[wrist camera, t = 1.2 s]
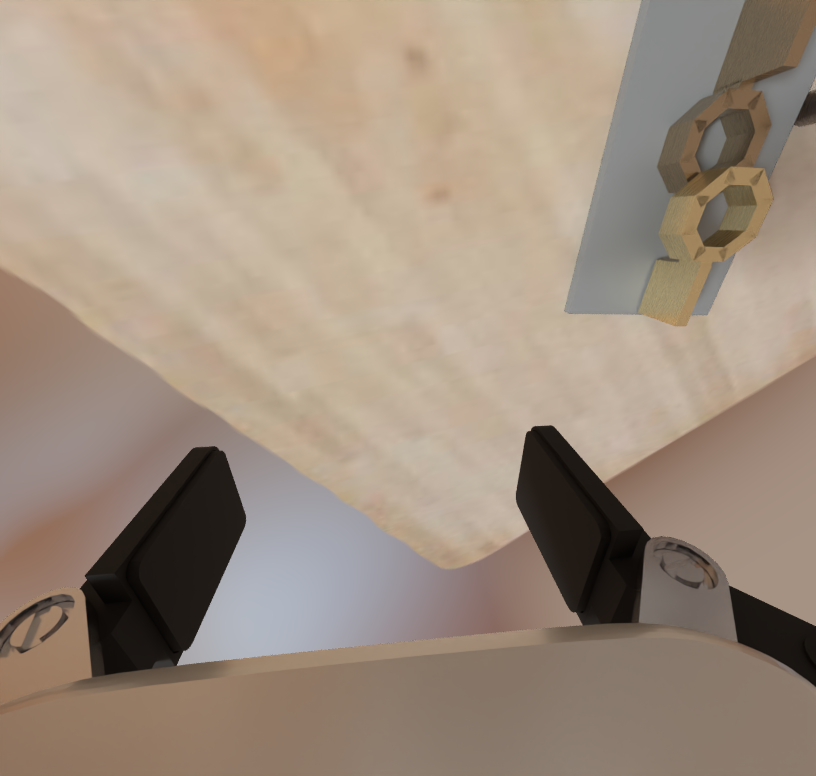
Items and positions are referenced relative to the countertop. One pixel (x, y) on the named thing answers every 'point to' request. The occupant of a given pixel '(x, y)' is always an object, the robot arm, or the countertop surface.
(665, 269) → the brass box-end wrench
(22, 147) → the countertop surface
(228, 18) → the countertop surface
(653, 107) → the slate board
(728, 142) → the fixed leaf
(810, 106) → the hinge pin
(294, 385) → the countertop surface
